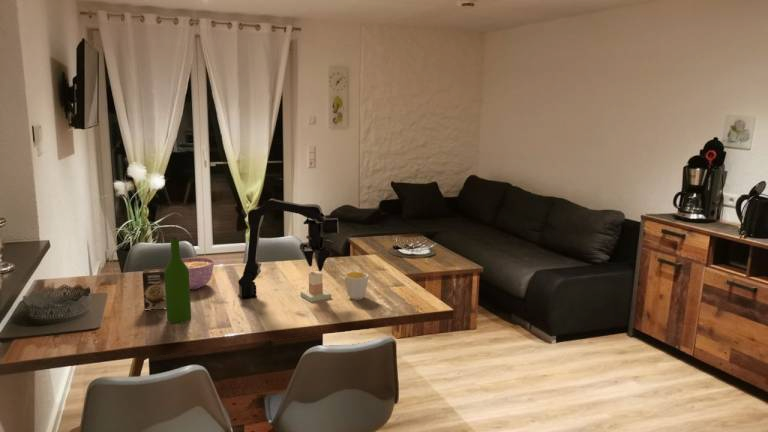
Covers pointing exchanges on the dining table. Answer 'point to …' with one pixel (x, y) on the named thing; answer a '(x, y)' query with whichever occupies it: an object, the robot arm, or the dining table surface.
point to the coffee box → (154, 288)
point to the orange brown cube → (315, 288)
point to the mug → (356, 285)
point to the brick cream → (315, 278)
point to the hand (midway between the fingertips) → (315, 268)
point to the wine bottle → (177, 287)
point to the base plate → (315, 296)
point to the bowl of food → (199, 271)
